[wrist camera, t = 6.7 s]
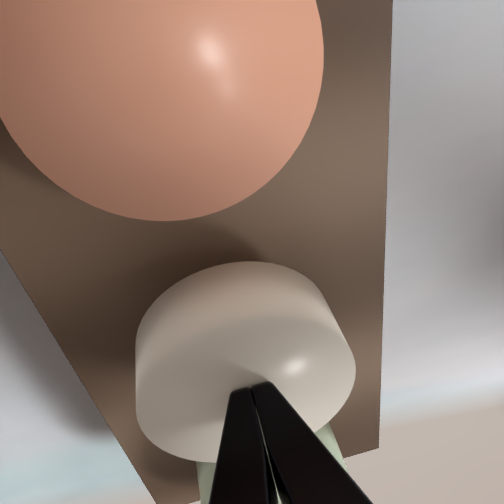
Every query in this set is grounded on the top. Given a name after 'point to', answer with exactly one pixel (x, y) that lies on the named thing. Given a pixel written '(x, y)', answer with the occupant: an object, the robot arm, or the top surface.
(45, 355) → the top surface
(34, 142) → the button terracotta
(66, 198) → the console
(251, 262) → the button cream
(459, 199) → the top surface
